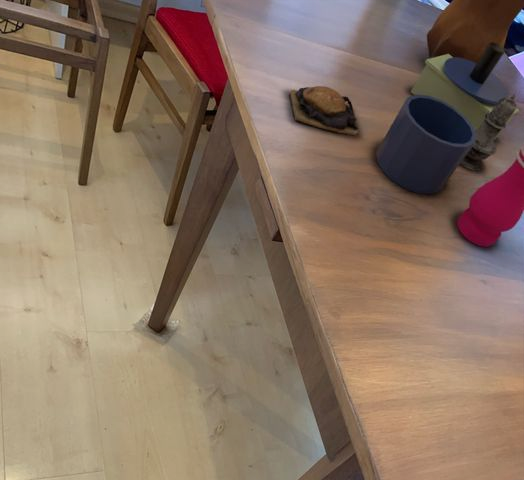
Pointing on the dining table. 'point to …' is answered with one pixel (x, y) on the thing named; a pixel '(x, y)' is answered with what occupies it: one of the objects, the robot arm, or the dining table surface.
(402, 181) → the pot
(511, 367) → the dining table surface
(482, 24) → the butternut squash
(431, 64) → the pale green block
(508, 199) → the pepper mill
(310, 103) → the pastry on board
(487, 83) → the lid
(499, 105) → the grey knobbly column
